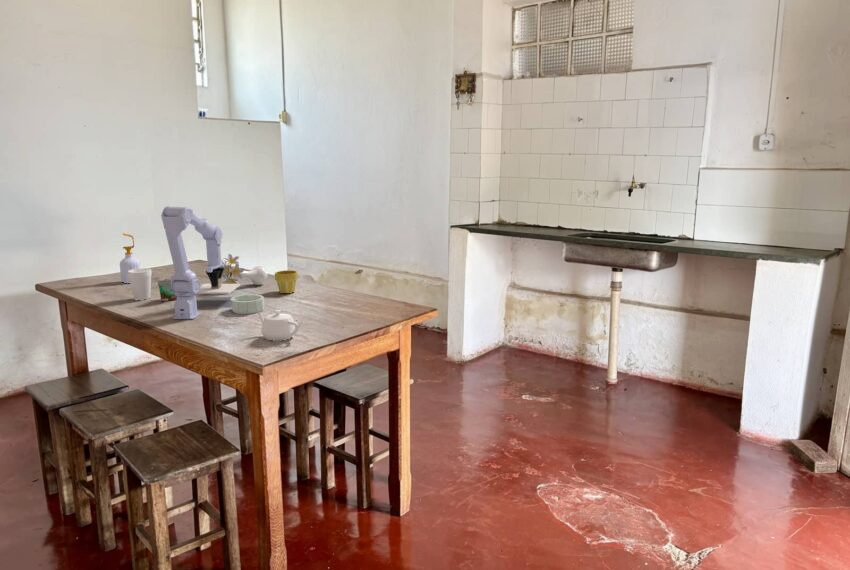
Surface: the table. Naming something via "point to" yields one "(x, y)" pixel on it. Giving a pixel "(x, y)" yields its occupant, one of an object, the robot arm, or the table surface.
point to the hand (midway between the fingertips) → (216, 285)
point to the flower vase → (242, 272)
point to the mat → (215, 302)
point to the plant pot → (286, 280)
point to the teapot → (278, 326)
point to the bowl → (247, 304)
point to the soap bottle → (128, 263)
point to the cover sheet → (217, 288)
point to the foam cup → (140, 283)
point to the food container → (166, 291)
